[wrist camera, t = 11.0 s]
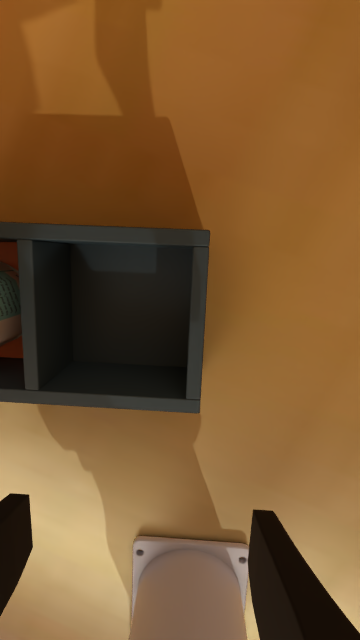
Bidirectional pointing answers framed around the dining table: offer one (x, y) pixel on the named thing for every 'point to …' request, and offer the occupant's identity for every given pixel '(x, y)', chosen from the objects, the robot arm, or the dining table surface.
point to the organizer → (106, 316)
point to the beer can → (9, 304)
